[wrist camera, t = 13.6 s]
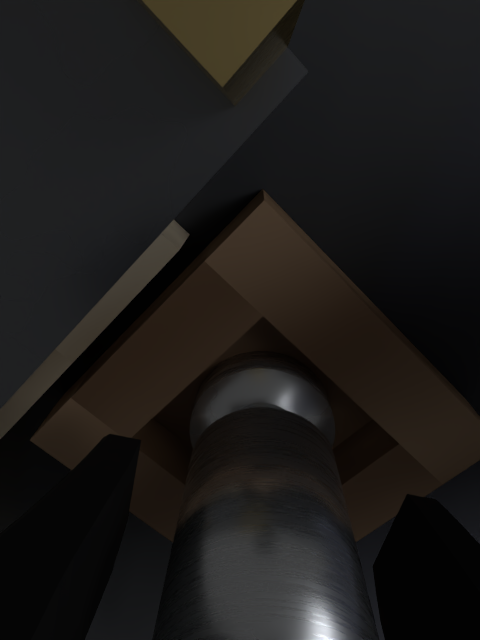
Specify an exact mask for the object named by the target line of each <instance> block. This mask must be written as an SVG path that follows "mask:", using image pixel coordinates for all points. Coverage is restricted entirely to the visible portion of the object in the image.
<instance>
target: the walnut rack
mask: <svg viewBox="0 0 480 640" xmlns="http://www.w3.org/2000/svg"><path fill="white" fill-rule="evenodd" d="M251 351H272V352H277V353H282V354H285V355H288V356H291V357H293V358H295V359H297V360H299V361H301V362H302V363H304V364H305V365H307V366H308V367H309V368H310V369H311V370H312V371H313V372H314V373H315V374H316V375H317V376H318V377H319V379H320V380H321V382H322V384H323V386H324V388H325V390H326V393H327V396H328V399H329V403H330V406H331V410H332V414H333V417H334V422H335V439H334V444H333V447H332V450H333V453H334V456H335V460H336V465H337V469H338V473H339V477H340V481H341V485H342V489H343V493H344V497H345V501H346V506H347V510H348V514H349V518H350V522H351V526H352V530H353V534H354V538H355V542H357V541H358V540H360V539H361V538H363V537H364V536H366V535H367V534H369V533H370V532H372V531H373V530H375V529H376V528H378V527H380V526H381V525H383V524H384V523H386V522H387V521H389V520H390V519H392V518H393V517H395V516H396V515H397V514H398V512H399V510H400V507H401V505H402V503H403V501H404V499H405V497H406V495H407V494H411V495H416V496H420V497H425V496H426V495H428V494H429V493H431V492H432V491H434V490H435V489H437V488H438V487H440V486H441V485H443V484H444V483H446V482H447V481H449V480H450V479H452V478H453V477H455V476H456V475H458V474H460V473H461V472H463V471H464V470H466V469H467V468H469V467H470V466H472V465H473V464H475V463H476V462H478V461H479V460H480V416H479V415H478V414H477V412H476V411H475V410H474V409H473V407H472V406H471V405H470V404H469V402H468V401H467V400H466V399H465V398H464V397H463V396H462V395H461V394H460V393H459V392H458V391H457V389H456V388H455V387H454V386H453V385H452V384H451V383H450V382H449V381H448V380H447V379H446V378H445V377H444V376H443V375H442V374H441V373H440V372H439V371H438V370H437V369H436V368H435V367H434V366H433V365H432V364H431V363H430V362H429V360H428V359H427V358H426V357H425V356H424V355H423V354H422V353H421V352H420V351H419V350H418V349H417V348H416V347H415V346H414V345H413V344H412V343H411V342H410V341H409V340H408V339H407V338H406V337H405V336H404V335H403V334H402V333H401V331H400V330H399V329H398V328H397V327H396V326H395V325H394V324H393V323H392V322H391V321H390V320H389V319H388V318H387V317H386V316H385V315H384V314H383V313H382V312H381V311H380V310H379V309H378V308H377V307H376V306H375V305H374V304H373V302H372V301H371V300H370V299H369V298H368V297H367V296H366V295H365V294H364V293H363V292H362V291H361V290H360V289H359V288H358V287H357V286H356V285H355V284H354V283H353V282H352V281H351V280H350V279H349V278H348V277H347V276H346V275H345V274H344V272H343V271H342V270H341V269H340V268H339V267H338V266H337V265H336V264H335V263H334V262H333V261H332V260H331V259H330V258H329V257H328V256H327V255H326V254H325V253H324V252H323V251H322V250H321V249H320V248H319V247H318V246H317V245H316V243H315V242H314V241H313V240H312V239H311V238H310V237H309V236H308V235H307V234H306V233H305V232H304V231H303V230H302V229H301V228H300V227H299V226H298V225H297V224H296V223H295V222H294V221H293V220H292V219H291V218H290V217H289V216H288V214H287V213H286V212H285V211H284V210H283V209H282V208H281V207H280V206H279V205H278V204H277V203H276V202H275V201H274V200H273V199H272V198H271V197H270V196H269V195H268V194H267V193H266V192H265V191H264V190H263V189H262V190H261V191H260V192H259V193H258V194H257V195H256V196H255V197H254V198H253V199H252V200H251V201H250V203H249V204H248V205H247V206H246V207H245V208H244V209H243V210H242V211H241V212H240V213H239V214H238V215H237V216H236V217H235V218H234V219H233V220H232V221H231V222H230V223H229V224H228V225H227V226H226V227H225V228H224V229H223V230H222V231H221V232H220V234H219V235H218V236H217V237H216V238H215V239H214V240H213V241H212V242H211V243H210V244H209V245H208V246H207V247H206V248H205V249H204V250H203V251H202V252H201V253H200V254H199V255H198V256H197V257H196V258H195V259H194V260H193V261H192V262H191V263H190V265H189V266H188V267H187V268H186V269H185V270H184V271H183V272H182V273H181V274H180V275H179V276H178V277H177V278H176V279H175V280H174V281H173V282H172V283H171V284H170V285H169V286H168V287H167V288H166V289H165V290H164V291H163V292H162V293H161V295H160V296H159V297H158V298H157V299H156V300H155V301H154V302H153V303H152V304H151V305H150V306H149V307H148V308H147V309H146V310H145V311H144V312H143V313H142V314H141V315H140V316H139V317H138V318H137V319H136V320H135V321H134V322H133V323H132V324H131V326H130V327H129V328H128V329H127V330H126V331H125V332H124V333H123V334H122V335H121V336H120V337H119V338H118V339H117V340H116V341H115V342H114V343H113V344H112V345H111V346H110V347H109V348H108V349H107V350H106V351H105V352H104V353H103V354H102V355H101V357H100V358H99V359H98V360H97V361H96V362H95V363H94V364H93V365H92V366H91V367H90V368H89V369H88V370H87V371H86V372H85V373H84V374H83V375H82V376H81V377H80V378H79V379H78V380H77V381H76V382H75V383H74V384H73V385H72V386H71V388H70V389H69V390H68V391H67V392H66V393H65V394H64V395H63V396H62V397H61V398H60V400H59V401H58V402H57V404H56V405H55V406H54V408H53V409H52V410H51V412H50V413H49V415H48V416H47V417H46V419H45V420H44V421H43V423H42V424H41V425H40V427H39V428H38V429H37V431H36V432H35V433H34V435H33V436H32V437H31V439H30V441H31V442H33V443H34V444H36V445H37V446H38V447H40V448H41V449H43V450H44V451H45V452H47V453H48V454H50V455H51V456H52V457H54V458H55V459H57V460H58V461H59V462H61V463H62V464H64V465H65V466H66V467H68V468H69V469H71V470H73V469H74V468H75V467H76V466H77V465H78V464H79V463H80V462H81V461H82V460H83V459H84V458H85V457H86V456H87V455H88V454H89V452H90V451H91V450H92V449H93V448H94V447H95V446H96V445H97V444H98V443H99V442H100V441H101V439H102V438H103V437H105V436H107V435H108V434H114V435H119V436H124V437H129V438H134V439H139V440H141V444H140V450H139V456H138V462H137V468H136V473H135V479H134V485H133V491H132V497H131V502H130V508H129V512H131V513H132V514H134V515H135V516H136V517H138V518H139V519H141V520H142V521H143V522H145V523H146V524H148V525H149V526H150V527H152V528H153V529H155V530H156V531H157V532H159V533H160V534H162V535H163V536H164V537H166V538H167V539H169V540H170V541H171V542H173V540H174V535H175V530H176V525H177V521H178V516H179V511H180V507H181V502H182V497H183V492H184V488H185V483H186V478H187V474H188V469H189V464H190V459H191V455H192V451H193V447H192V444H191V440H190V421H191V415H192V411H193V407H194V403H195V399H196V395H197V392H198V389H199V387H200V385H201V383H202V381H203V380H204V378H205V377H206V376H207V374H208V373H209V372H210V371H211V370H212V369H213V368H215V367H216V366H217V365H218V364H220V363H221V362H223V361H225V360H226V359H228V358H230V357H233V356H235V355H238V354H242V353H246V352H251Z"/></svg>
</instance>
